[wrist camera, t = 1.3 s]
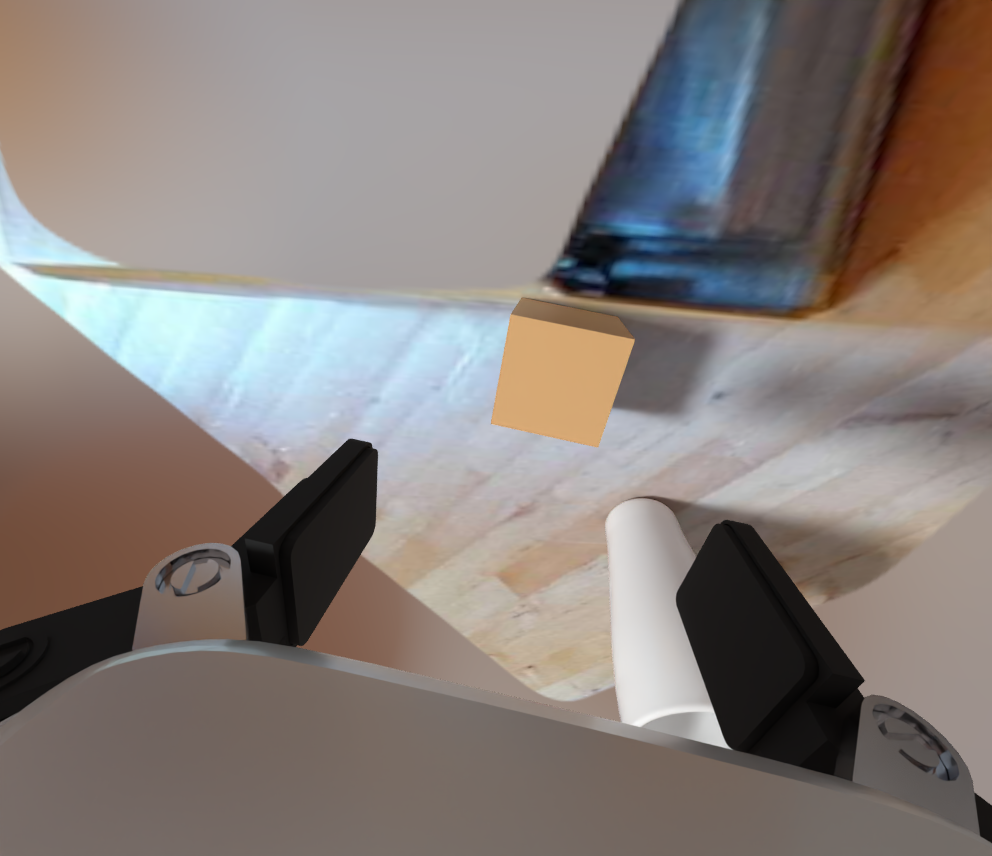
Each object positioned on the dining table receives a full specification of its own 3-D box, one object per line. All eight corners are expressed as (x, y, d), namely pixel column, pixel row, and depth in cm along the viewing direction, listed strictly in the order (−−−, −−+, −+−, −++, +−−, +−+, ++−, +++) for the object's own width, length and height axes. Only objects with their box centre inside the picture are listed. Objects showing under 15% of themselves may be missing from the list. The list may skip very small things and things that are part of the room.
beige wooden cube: (617, 316, 23) (635, 339, 18) (590, 404, 26) (597, 447, 20) (521, 297, 23) (510, 314, 18) (504, 386, 26) (490, 423, 21)
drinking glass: (638, 567, 31) (696, 805, 18) (576, 523, 30) (590, 742, 17) (705, 520, 28) (833, 765, 15) (639, 470, 27) (715, 686, 14)
